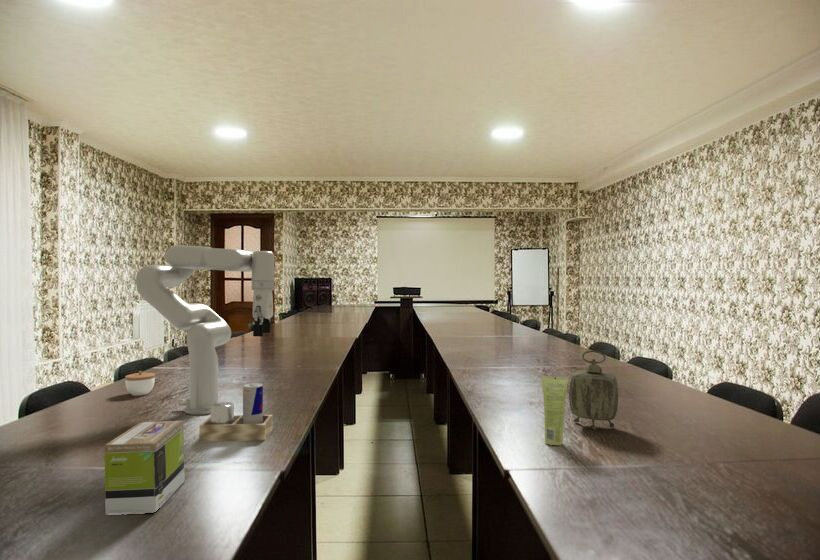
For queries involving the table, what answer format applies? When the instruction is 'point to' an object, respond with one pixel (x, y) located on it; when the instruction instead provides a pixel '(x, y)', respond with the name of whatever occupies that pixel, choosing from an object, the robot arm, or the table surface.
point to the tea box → (144, 467)
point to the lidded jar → (139, 383)
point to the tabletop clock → (593, 393)
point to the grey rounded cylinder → (222, 413)
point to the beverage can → (253, 403)
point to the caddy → (235, 430)
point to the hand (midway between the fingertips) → (261, 334)
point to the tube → (554, 408)
